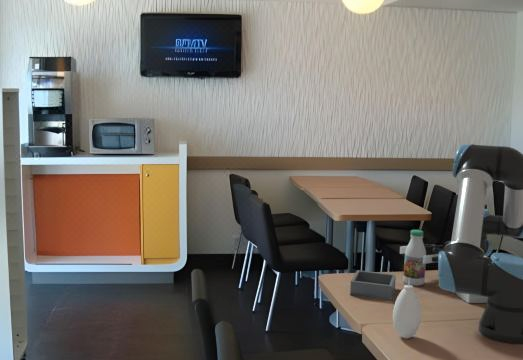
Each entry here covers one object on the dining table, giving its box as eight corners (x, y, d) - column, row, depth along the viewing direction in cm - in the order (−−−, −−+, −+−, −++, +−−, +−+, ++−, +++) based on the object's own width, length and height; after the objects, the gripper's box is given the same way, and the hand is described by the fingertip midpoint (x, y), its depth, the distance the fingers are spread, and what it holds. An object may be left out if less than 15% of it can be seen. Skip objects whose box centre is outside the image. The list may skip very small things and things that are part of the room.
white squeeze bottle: (390, 330, 175) (393, 272, 172) (417, 332, 174) (421, 273, 172) (393, 341, 167) (397, 280, 165) (421, 343, 166) (425, 282, 164)
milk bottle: (402, 279, 225) (405, 227, 222) (422, 280, 224) (426, 229, 221) (404, 285, 218) (407, 232, 215) (425, 286, 217) (429, 233, 214)
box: (391, 300, 201) (391, 286, 200) (350, 295, 205) (350, 281, 205) (394, 288, 214) (395, 274, 214) (356, 283, 218) (357, 270, 218)
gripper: (479, 268, 217) (433, 274, 208) (434, 251, 239) (390, 255, 231) (481, 248, 216) (435, 253, 207) (435, 233, 238) (392, 237, 230)
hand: (411, 254), depth 219 cm, fingers open, 13 cm apart
